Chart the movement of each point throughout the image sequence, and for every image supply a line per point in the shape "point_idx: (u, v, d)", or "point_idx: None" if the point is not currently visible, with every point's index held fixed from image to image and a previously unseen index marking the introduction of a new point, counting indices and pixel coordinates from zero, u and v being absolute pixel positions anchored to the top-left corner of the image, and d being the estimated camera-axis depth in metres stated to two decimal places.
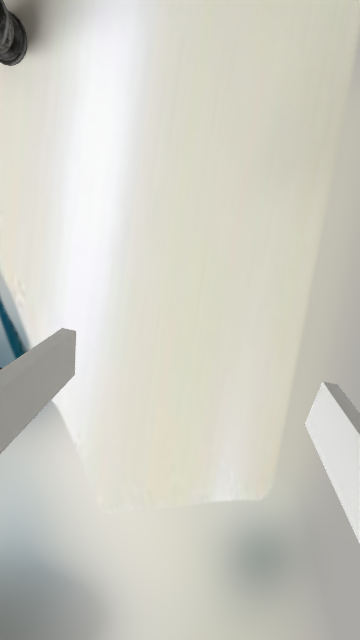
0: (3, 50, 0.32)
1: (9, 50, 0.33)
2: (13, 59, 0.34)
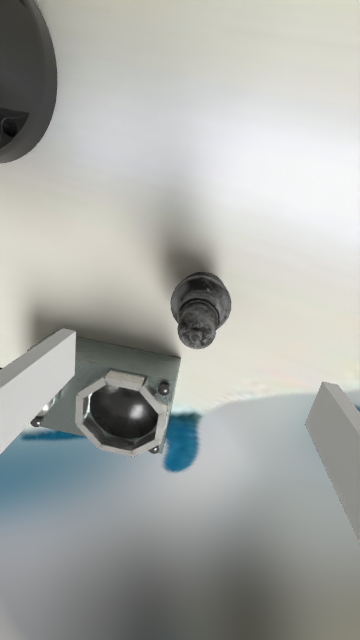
0: None
1: None
2: None
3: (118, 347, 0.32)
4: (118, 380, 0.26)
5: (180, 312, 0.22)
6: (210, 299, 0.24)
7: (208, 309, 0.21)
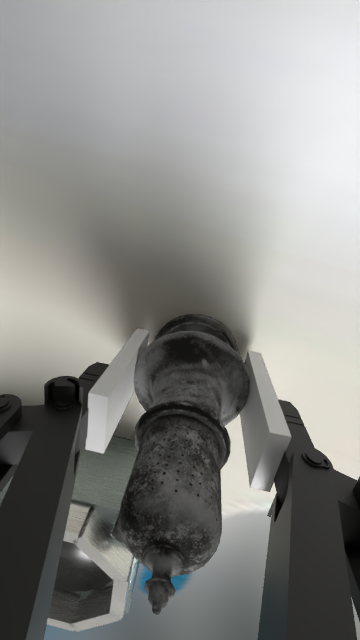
0: None
1: None
2: None
3: None
4: None
5: (139, 431, 0.10)
6: (209, 388, 0.11)
7: (203, 440, 0.09)
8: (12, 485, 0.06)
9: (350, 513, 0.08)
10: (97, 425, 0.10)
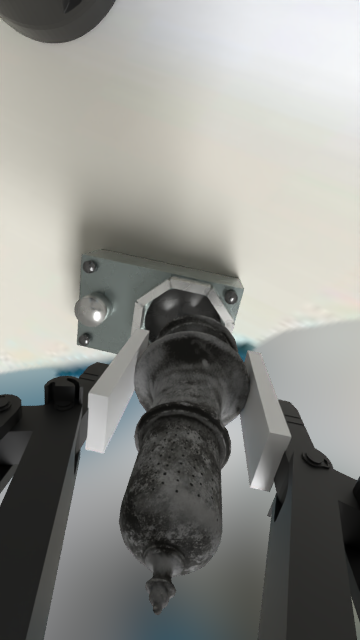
0: None
1: None
2: None
3: (172, 265, 0.30)
4: (185, 282, 0.24)
5: (139, 431, 0.10)
6: (209, 389, 0.11)
7: (203, 441, 0.09)
8: (12, 485, 0.06)
9: (350, 513, 0.08)
10: (97, 425, 0.10)
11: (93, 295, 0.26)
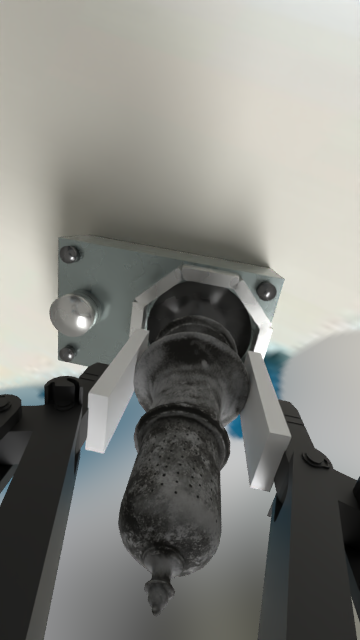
0: None
1: None
2: None
3: (181, 252, 0.23)
4: (203, 271, 0.17)
5: (139, 432, 0.10)
6: (208, 390, 0.11)
7: (203, 442, 0.09)
8: (12, 485, 0.06)
9: (350, 513, 0.08)
10: (97, 425, 0.10)
11: (75, 293, 0.19)
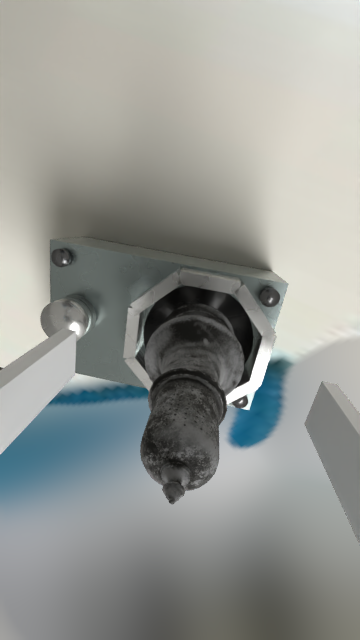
0: None
1: None
2: None
3: (180, 255, 0.22)
4: (202, 276, 0.16)
5: (152, 393, 0.12)
6: (209, 362, 0.13)
7: (204, 396, 0.11)
8: None
9: None
10: None
11: (67, 298, 0.18)
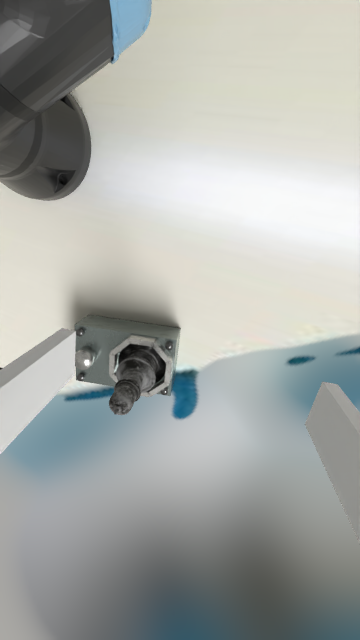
0: (152, 366, 0.39)
1: (149, 363, 0.41)
2: (154, 361, 0.41)
3: (135, 322, 0.45)
4: (138, 340, 0.39)
5: (115, 387, 0.35)
6: (137, 375, 0.36)
7: (130, 387, 0.34)
8: None
9: None
10: None
11: (83, 350, 0.41)
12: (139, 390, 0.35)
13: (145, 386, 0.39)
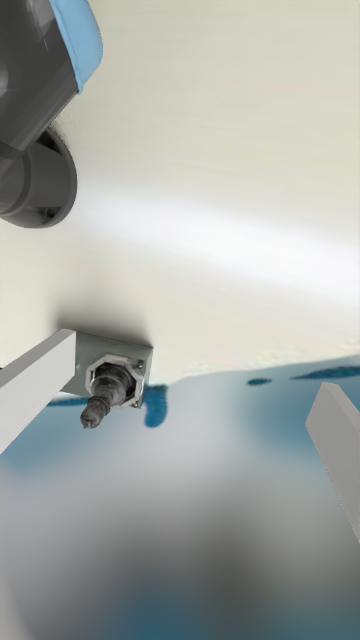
0: (123, 383, 0.44)
1: (122, 379, 0.46)
2: (126, 378, 0.46)
3: (112, 340, 0.50)
4: (112, 359, 0.44)
5: (88, 403, 0.40)
6: (108, 392, 0.41)
7: (100, 404, 0.38)
8: None
9: None
10: None
11: None
12: (109, 406, 0.40)
13: (116, 401, 0.43)
